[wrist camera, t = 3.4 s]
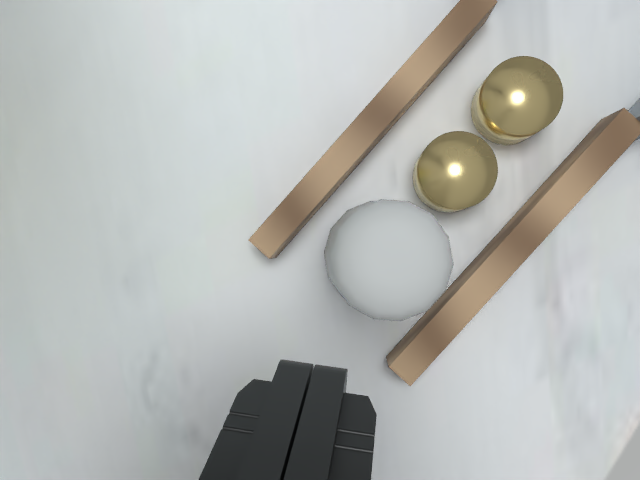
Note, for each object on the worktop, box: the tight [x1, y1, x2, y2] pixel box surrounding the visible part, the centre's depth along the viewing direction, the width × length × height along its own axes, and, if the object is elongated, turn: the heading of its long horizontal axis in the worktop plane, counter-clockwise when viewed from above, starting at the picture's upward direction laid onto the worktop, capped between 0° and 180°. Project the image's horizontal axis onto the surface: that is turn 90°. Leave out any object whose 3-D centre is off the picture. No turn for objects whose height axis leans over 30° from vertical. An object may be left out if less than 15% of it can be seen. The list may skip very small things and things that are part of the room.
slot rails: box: [249, 0, 640, 386], centre depth 29 cm, size 18×12×2 cm, turn 138°
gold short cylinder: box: [413, 131, 498, 212], centre depth 29 cm, size 4×4×3 cm
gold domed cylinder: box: [471, 56, 563, 145], centre depth 29 cm, size 4×4×3 cm
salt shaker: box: [324, 199, 453, 321], centre depth 24 cm, size 6×6×13 cm
